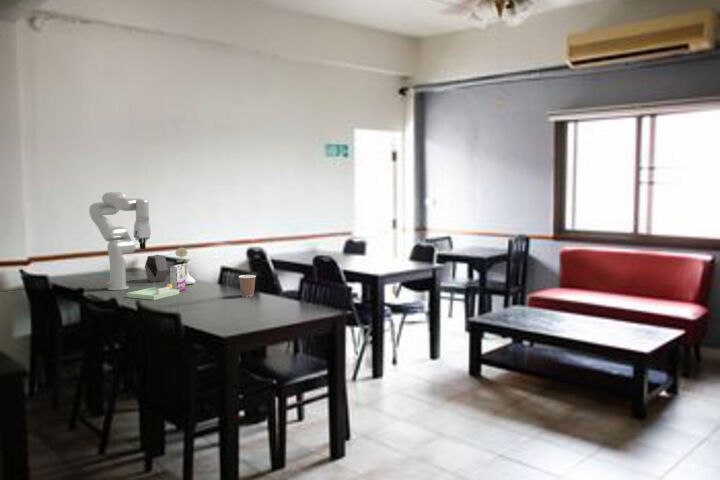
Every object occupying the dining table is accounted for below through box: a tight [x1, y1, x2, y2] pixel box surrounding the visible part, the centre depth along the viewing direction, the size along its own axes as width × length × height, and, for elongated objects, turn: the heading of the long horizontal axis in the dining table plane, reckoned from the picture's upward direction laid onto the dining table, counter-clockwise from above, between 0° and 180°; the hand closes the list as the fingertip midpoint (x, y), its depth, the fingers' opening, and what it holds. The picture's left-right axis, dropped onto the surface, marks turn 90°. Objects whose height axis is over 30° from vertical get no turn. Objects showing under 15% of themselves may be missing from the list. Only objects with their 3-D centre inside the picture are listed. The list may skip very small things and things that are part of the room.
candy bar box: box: [169, 264, 187, 293], centre depth 389 cm, size 11×5×16 cm, turn 168°
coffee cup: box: [238, 274, 257, 298], centre depth 374 cm, size 10×10×12 cm
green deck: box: [126, 286, 180, 301], centre depth 375 cm, size 21×22×6 cm
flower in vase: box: [174, 247, 196, 285], centre depth 416 cm, size 13×11×25 cm
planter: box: [144, 255, 169, 283], centre depth 431 cm, size 17×8×21 cm
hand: (142, 249), depth 381 cm, fingers closed
